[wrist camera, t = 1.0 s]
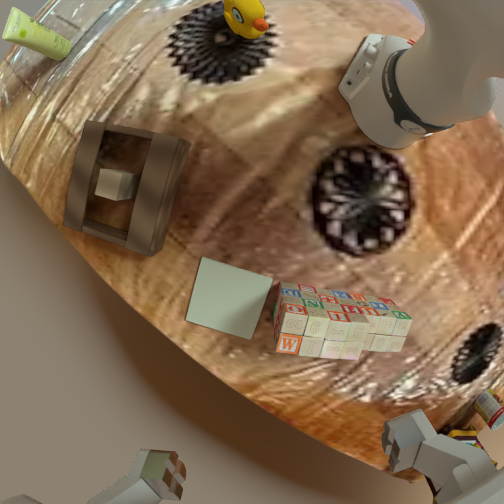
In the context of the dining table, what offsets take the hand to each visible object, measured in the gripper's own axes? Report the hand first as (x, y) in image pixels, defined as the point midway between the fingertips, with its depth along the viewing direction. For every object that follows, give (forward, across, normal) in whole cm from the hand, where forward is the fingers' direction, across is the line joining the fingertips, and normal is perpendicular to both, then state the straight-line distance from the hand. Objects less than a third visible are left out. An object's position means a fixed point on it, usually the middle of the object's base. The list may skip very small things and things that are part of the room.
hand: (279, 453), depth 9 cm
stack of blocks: (+38, -10, +13) cm, 42 cm away
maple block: (+38, +20, -15) cm, 46 cm away
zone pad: (+38, +8, +8) cm, 40 cm away
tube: (+38, +32, -49) cm, 70 cm away
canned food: (+38, -58, +59) cm, 91 cm away
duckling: (+38, -5, -38) cm, 54 cm away
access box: (+38, +20, -15) cm, 46 cm away
